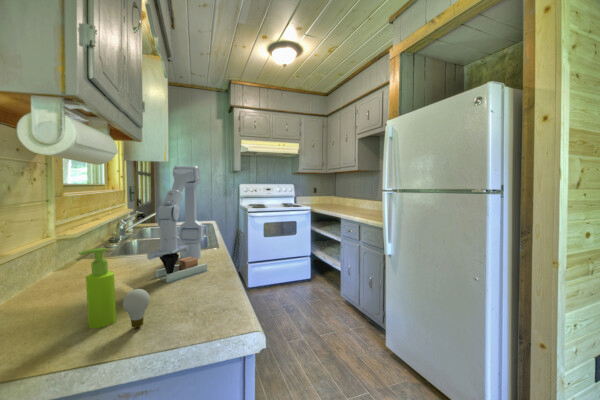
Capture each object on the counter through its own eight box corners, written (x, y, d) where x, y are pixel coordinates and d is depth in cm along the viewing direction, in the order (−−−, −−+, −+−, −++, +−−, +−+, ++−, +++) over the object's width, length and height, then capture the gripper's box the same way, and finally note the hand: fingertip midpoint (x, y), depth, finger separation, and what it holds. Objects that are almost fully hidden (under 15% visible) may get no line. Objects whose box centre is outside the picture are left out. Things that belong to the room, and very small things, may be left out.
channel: (154, 279, 101) (153, 269, 100) (192, 268, 113) (192, 259, 113) (170, 287, 94) (170, 276, 93) (209, 274, 106) (209, 264, 106)
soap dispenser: (81, 324, 70) (77, 249, 68) (113, 314, 75) (109, 244, 73) (85, 333, 66) (81, 253, 64) (118, 322, 71) (115, 248, 69)
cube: (179, 271, 105) (178, 259, 104) (190, 268, 109) (190, 256, 108) (186, 274, 102) (185, 261, 102) (197, 271, 106) (197, 258, 106)
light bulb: (122, 336, 64) (120, 296, 64) (125, 324, 70) (123, 287, 69) (150, 330, 67) (148, 292, 66) (151, 319, 72) (149, 283, 72)
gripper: (153, 243, 90) (154, 282, 91) (192, 235, 102) (193, 270, 103) (143, 240, 94) (145, 277, 95) (182, 233, 106) (183, 267, 107)
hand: (169, 273), depth 99 cm, fingers closed
